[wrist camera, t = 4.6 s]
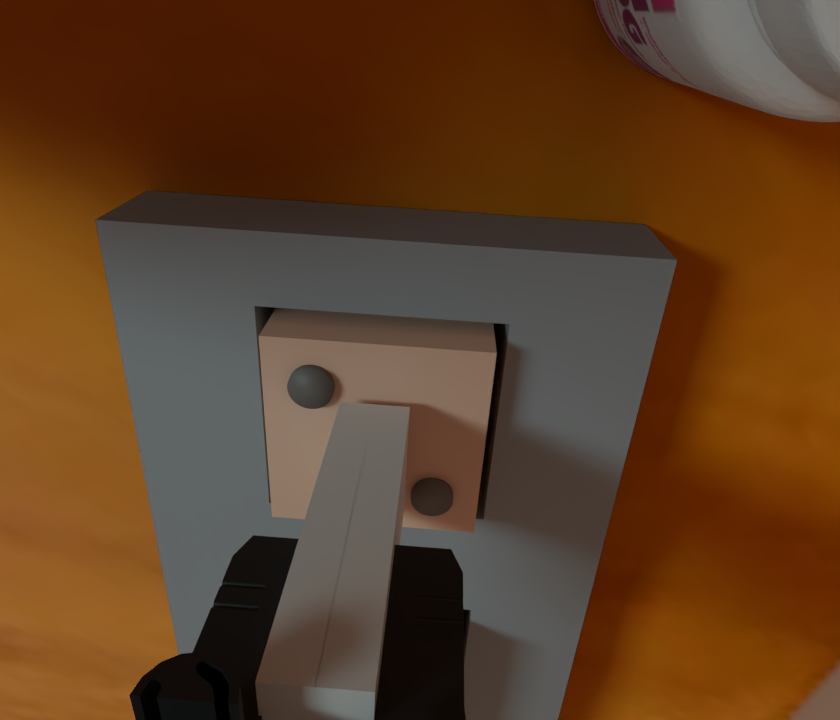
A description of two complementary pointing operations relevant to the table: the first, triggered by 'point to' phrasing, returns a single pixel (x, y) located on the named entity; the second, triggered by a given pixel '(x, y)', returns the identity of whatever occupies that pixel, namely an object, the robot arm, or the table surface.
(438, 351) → the key three
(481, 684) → the key board
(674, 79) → the pill bottle
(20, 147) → the table surface
